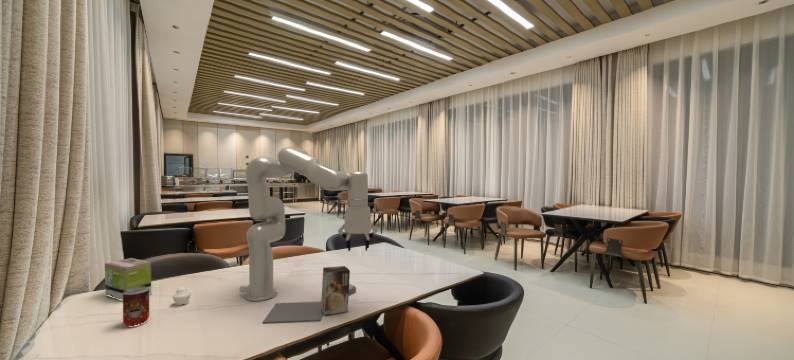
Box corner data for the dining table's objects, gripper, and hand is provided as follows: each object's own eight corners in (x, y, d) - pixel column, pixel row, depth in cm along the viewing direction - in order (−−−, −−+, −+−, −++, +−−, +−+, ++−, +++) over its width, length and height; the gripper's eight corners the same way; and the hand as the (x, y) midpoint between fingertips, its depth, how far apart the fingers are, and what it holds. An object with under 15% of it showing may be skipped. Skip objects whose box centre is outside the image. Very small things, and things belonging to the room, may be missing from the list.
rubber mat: (262, 323, 108) (262, 321, 108) (276, 304, 124) (276, 303, 124) (320, 321, 110) (320, 319, 110) (326, 302, 126) (326, 301, 126)
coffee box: (343, 305, 123) (345, 265, 123) (348, 312, 117) (350, 270, 117) (320, 308, 119) (323, 267, 119) (324, 315, 113) (327, 272, 113)
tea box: (104, 297, 131) (103, 262, 130) (131, 289, 140) (131, 257, 140) (124, 303, 125) (124, 266, 125) (152, 294, 134) (152, 260, 134)
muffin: (171, 304, 124) (171, 286, 124) (188, 299, 128) (188, 283, 128) (174, 308, 120) (174, 290, 120) (193, 303, 124) (193, 286, 124)
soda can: (123, 330, 103) (123, 294, 103) (122, 323, 108) (122, 288, 108) (150, 323, 107) (150, 289, 107) (148, 317, 113) (148, 283, 113)
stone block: (322, 300, 133) (337, 301, 128) (321, 288, 134) (336, 289, 128) (343, 292, 143) (358, 293, 137) (341, 282, 144) (356, 282, 138)
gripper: (334, 204, 114) (334, 253, 114) (380, 204, 116) (380, 252, 116) (336, 202, 121) (336, 248, 122) (379, 202, 123) (379, 247, 123)
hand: (357, 249), depth 119 cm, fingers open, 5 cm apart
